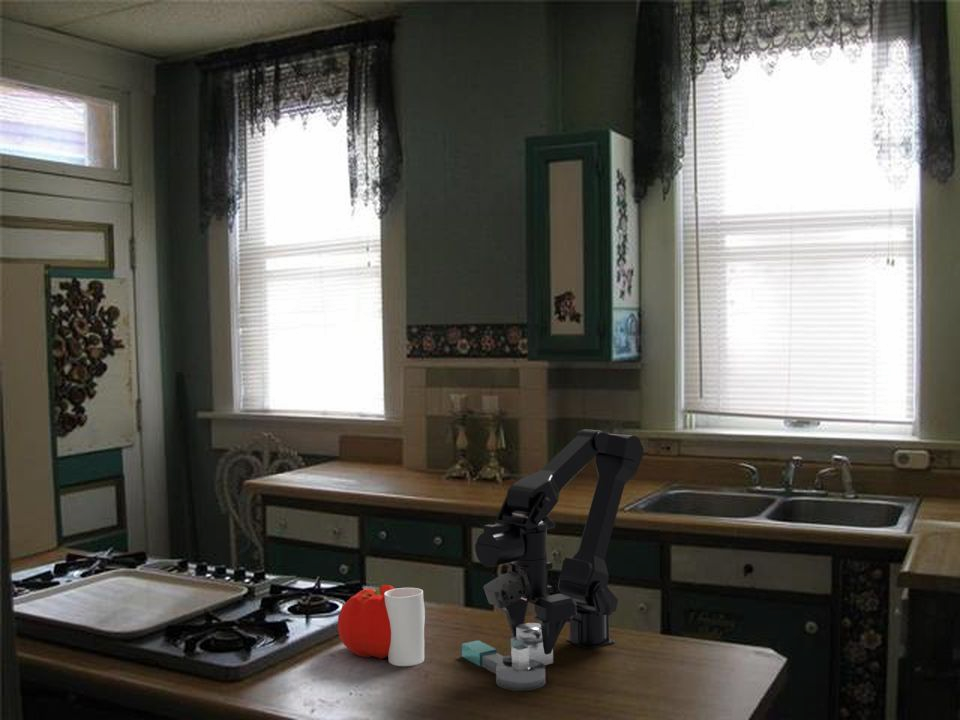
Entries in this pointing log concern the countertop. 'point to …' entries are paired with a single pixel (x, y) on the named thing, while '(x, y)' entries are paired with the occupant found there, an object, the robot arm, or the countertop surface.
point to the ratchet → (507, 666)
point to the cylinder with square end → (532, 642)
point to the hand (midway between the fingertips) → (532, 646)
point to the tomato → (366, 623)
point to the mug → (406, 626)
